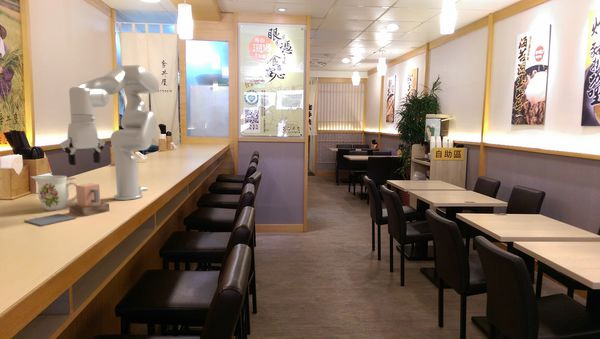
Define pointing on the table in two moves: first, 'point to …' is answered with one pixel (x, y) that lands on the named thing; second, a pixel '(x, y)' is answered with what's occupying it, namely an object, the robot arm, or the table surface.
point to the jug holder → (88, 209)
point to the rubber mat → (50, 219)
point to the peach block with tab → (88, 195)
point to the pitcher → (54, 191)
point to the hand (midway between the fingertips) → (85, 163)
